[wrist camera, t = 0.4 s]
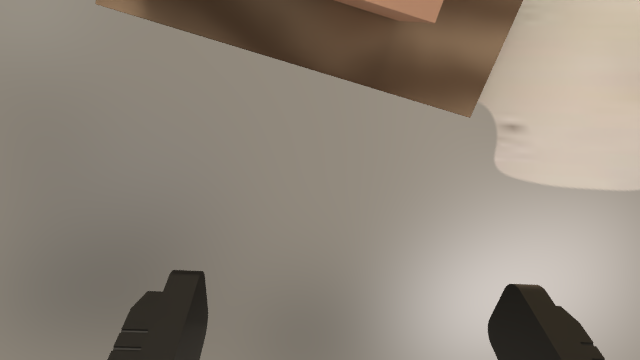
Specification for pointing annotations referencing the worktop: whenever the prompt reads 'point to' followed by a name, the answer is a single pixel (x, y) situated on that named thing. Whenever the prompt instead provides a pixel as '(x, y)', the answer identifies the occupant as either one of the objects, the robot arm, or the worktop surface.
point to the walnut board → (356, 41)
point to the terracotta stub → (400, 9)
